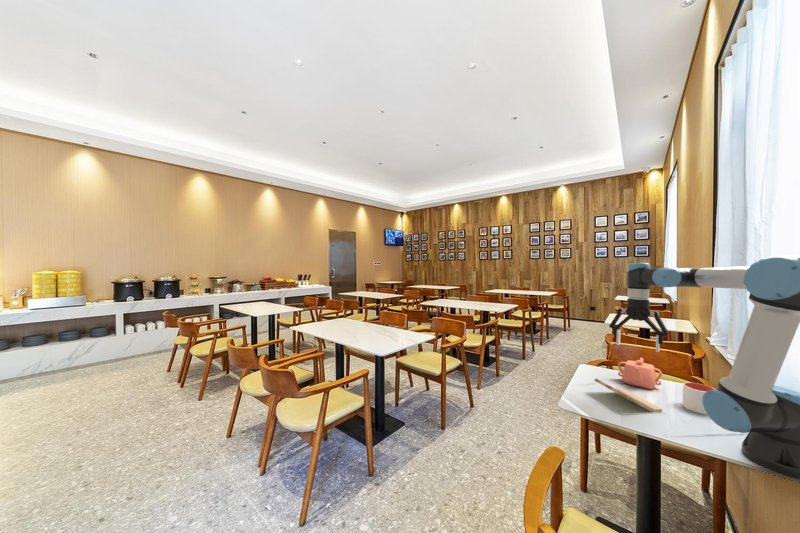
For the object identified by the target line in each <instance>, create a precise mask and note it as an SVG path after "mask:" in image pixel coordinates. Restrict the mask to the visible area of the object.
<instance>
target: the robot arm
mask: <svg viewBox="0 0 800 533" xmlns="http://www.w3.org/2000/svg"><path fill="white" fill-rule="evenodd" d="M650 286H652V287H661V288H674V287H676V288H677V287H678V288H679V287H683V288H708V289H709V288H711V289H713V288H714V289H716V288H717V289H736V290H737V289H738V290H747V292H748V293H749V296H748V299H749V301H750V302H751V303H752V304H753V309H752V311H751V314H750V317H749V320H748V322H747V325H746V328H745V330H744V333H743V336H742V339H741V341H740V344H739V347H738V350H737V353H736V356H735V358H734V361H733V363H732V367H731V369H730V372H729V375H728V376H724V377H721V378H720V379H719V382H718V384H717V387H716V388H714V389H713V390H709V391H707V392H705V393H704V395H703V398H702V402H703V406H704V409H705V411H706V412H707V414H708V415H707V414H706V415H707V416H708V417H709V419H710V420H712V422H713V423H715V424H716V425H717V426H719V427H720V428H721V429H724V430H725V431H727V432H728V431H729V432H732V433H733V432H734V433H740V434H741V433H742V434H743V433H744V434H746V433H748V434H747V435H746V436H745V438H744V439H743V441H742V442H741V452H742V454H743V455H745V456H746V457H747V458H748V459H750V460H751V461H753V462H755V463H756V464H758V465H760V466H762V467H764V468H767V469H769V470H772V471H775V472H777V473H780V474H783V475H785V474H786V476H790V477H793V478H798V479H800V392H799V391H796V390H793V389H790V388H786V387H784V386H783V387H782V386H779V385H775V384H776V381H777V379H778V378H779V377H778V376H779V374H780V372H781V369H782V367H783V365H784V363H785V359H786V357H787V355H788V353H789V351H790V350H789V349H790V347H791V345H792V342H793V340H794V339H795V335H796V333H797V330H798V329H799V328H798V327H799V325H800V255H788V254H787V255H778V256H769V257H768V256H767V257H765V258H762V259H759V260H757V261H755V262H753V263H752V264H750V266H727V267H726V266H724V267H651V265H650V263H649V262H631V263H629V264H628V265H627V291H626V292H627V299H626V304H627V305H626V308H623V307H619V308H618V309H617V313H616V315H615V316H614V318H613V320H612V321H611V323H610V324H609V328H611V329H613V336H614V337H615V338H616V343H615V344H616V346H620V345H621V334H622V332H621V329H620V328H621V327H622V326H624V325H625V324H626V323H627V322H628V321H630V320H632V321H639V322H640V321H641V322H643V321H644V322H645V323H646V324H647V325H648V326H649V327H650V328H651V329H652V330H653V331H654V333H656V335H655V352H656V353H659V352H660V347H661V346H660V345H663V344H664V337H665V336H669V335H670V333H669V331H668V329H667V328H666V325H665V324H664V322H663V321H662V319H661V317H660V312H659V311H651V310H650V295H651V294H650V291H651V290H650ZM625 313H626V314H627V316H626V317H624V318H623V320H621V321H620V322H619V323H618V321H619V320H620V318H621V317H622V315H623V314H625ZM650 316H652V317H653V318H654V319H655V321H656V323H657V325H658V326H657V325H656V324H655V323H654V322H653V321H652V320H651V318H650ZM617 323H618V324H617ZM658 327H659V328H660V329H659V328H658ZM715 389H716V390H715Z"/></svg>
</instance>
